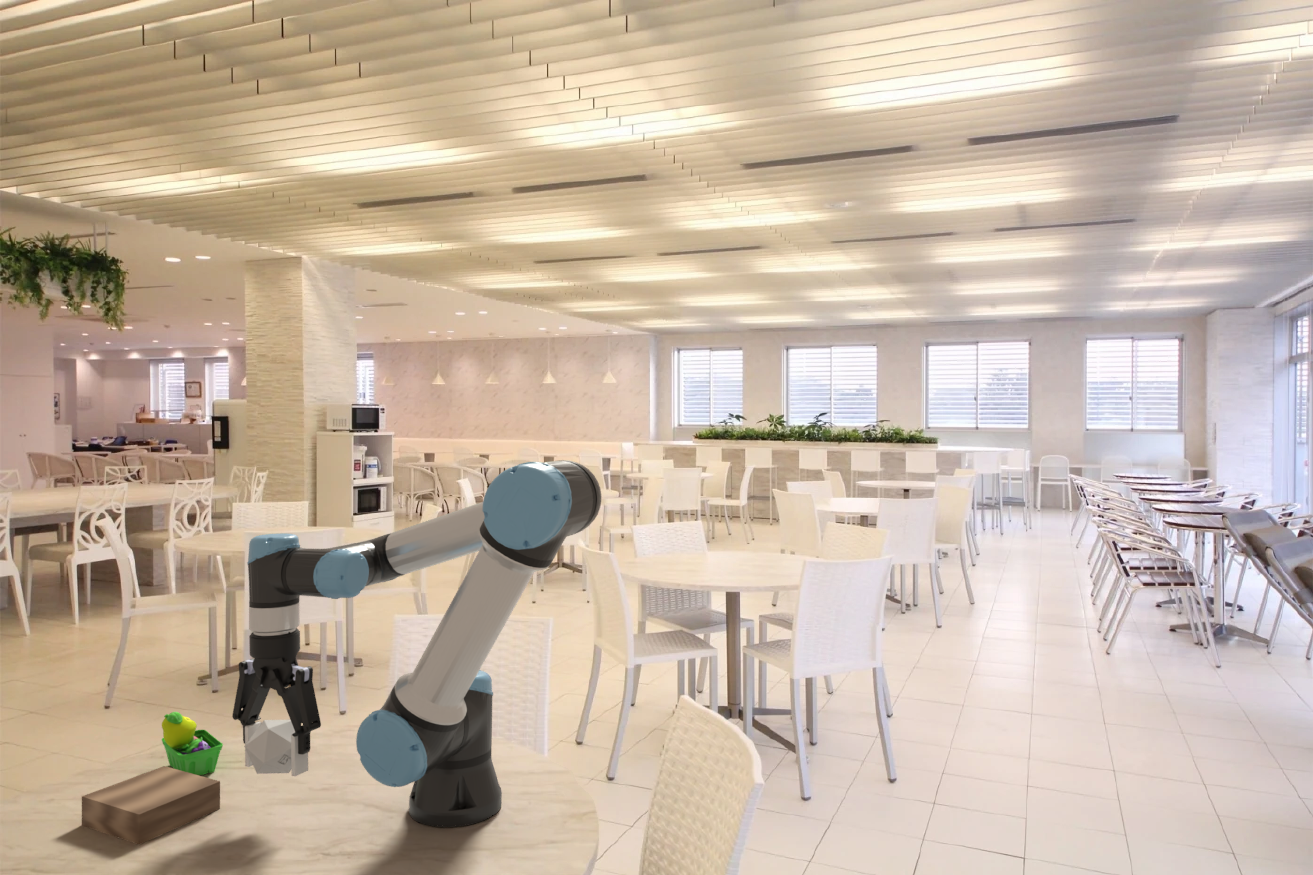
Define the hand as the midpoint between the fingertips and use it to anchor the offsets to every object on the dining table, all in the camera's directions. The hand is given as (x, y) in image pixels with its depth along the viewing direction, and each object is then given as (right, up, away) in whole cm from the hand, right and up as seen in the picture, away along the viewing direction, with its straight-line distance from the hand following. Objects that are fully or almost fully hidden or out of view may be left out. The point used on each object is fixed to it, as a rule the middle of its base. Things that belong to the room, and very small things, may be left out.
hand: (276, 768), depth 143 cm
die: (0, 0, 0) cm, 0 cm away
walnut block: (-20, -8, 0) cm, 22 cm away
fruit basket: (-25, -8, +20) cm, 33 cm away
